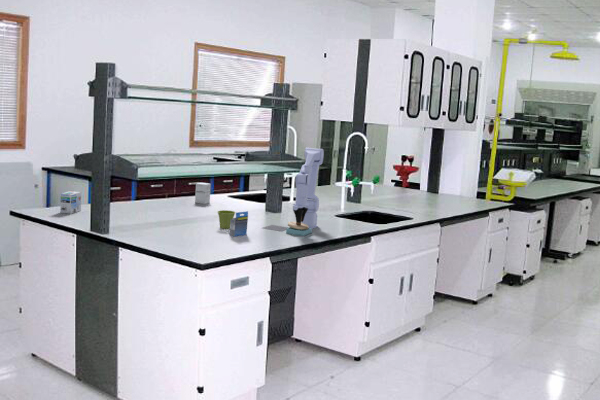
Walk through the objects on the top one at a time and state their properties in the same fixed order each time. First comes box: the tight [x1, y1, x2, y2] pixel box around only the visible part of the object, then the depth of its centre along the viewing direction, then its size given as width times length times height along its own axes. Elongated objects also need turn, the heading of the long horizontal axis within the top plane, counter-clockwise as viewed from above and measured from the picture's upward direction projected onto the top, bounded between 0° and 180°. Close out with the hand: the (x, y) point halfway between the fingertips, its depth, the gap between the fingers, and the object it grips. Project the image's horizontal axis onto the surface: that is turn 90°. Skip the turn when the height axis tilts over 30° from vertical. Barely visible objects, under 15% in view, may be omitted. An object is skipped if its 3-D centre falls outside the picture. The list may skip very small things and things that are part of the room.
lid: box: [287, 218, 309, 230], centre depth 342 cm, size 11×11×6 cm
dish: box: [285, 226, 313, 237], centre depth 343 cm, size 10×10×3 cm
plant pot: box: [217, 209, 236, 230], centre depth 344 cm, size 9×9×9 cm
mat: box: [262, 224, 289, 232], centre depth 352 cm, size 12×12×1 cm
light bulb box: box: [59, 190, 82, 215], centre depth 358 cm, size 11×7×11 cm, turn 168°
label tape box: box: [229, 210, 249, 237], centre depth 329 cm, size 9×4×12 cm, turn 141°
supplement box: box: [194, 182, 212, 205], centre depth 415 cm, size 7×7×13 cm
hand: (299, 221), depth 342 cm, fingers closed on lid, 2 cm apart
